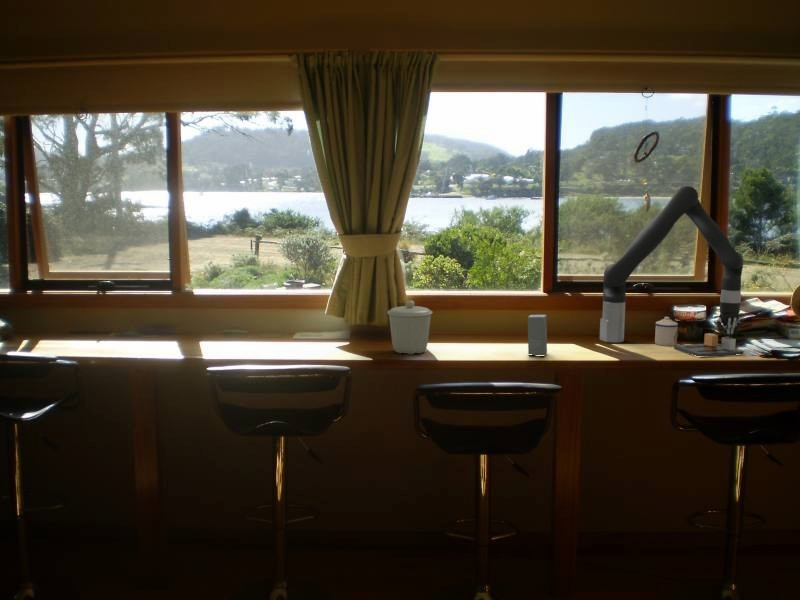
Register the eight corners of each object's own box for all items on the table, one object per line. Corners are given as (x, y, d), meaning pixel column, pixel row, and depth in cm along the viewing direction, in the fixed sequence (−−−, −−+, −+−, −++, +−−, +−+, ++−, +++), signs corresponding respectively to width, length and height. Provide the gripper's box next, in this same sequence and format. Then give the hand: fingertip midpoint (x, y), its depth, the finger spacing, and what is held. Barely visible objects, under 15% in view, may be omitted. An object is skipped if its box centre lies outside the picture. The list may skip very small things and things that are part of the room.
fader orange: (711, 346, 284) (712, 335, 283) (704, 344, 288) (704, 333, 288) (717, 346, 284) (718, 335, 283) (709, 343, 289) (710, 332, 288)
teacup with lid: (678, 346, 292) (680, 319, 290) (655, 345, 294) (657, 318, 292) (673, 341, 303) (675, 314, 302) (651, 340, 305) (653, 313, 304)
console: (699, 357, 271) (699, 353, 271) (673, 348, 288) (673, 344, 288) (744, 355, 276) (744, 351, 275) (716, 346, 292) (716, 342, 292)
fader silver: (729, 350, 276) (729, 339, 276) (721, 347, 281) (721, 336, 280) (735, 350, 277) (735, 338, 276) (727, 347, 281) (727, 336, 281)
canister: (387, 347, 292) (387, 297, 289) (431, 347, 292) (431, 297, 289) (387, 357, 274) (387, 303, 271) (433, 356, 274) (433, 303, 271)
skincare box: (544, 357, 272) (545, 317, 270) (526, 356, 275) (526, 316, 273) (547, 353, 280) (548, 314, 278) (529, 351, 283) (530, 313, 280)
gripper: (738, 299, 290) (735, 340, 293) (710, 300, 287) (707, 341, 290) (750, 301, 283) (747, 343, 286) (722, 302, 280) (719, 345, 283)
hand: (727, 342), depth 288 cm, fingers closed
